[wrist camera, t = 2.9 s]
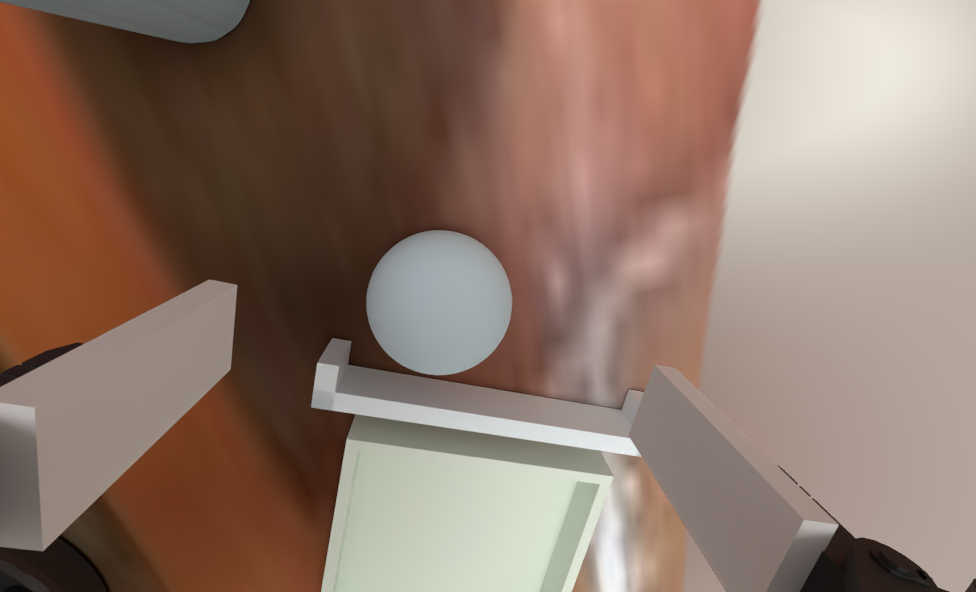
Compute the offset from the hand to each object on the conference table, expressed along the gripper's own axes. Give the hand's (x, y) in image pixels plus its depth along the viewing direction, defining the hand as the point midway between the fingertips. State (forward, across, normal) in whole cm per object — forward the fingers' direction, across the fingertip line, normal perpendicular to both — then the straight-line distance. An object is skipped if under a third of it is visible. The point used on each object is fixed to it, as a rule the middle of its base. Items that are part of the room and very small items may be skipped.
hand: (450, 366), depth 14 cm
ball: (+10, 0, 0) cm, 10 cm away
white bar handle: (+10, +4, -6) cm, 12 cm away
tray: (+10, +4, -15) cm, 18 cm away
